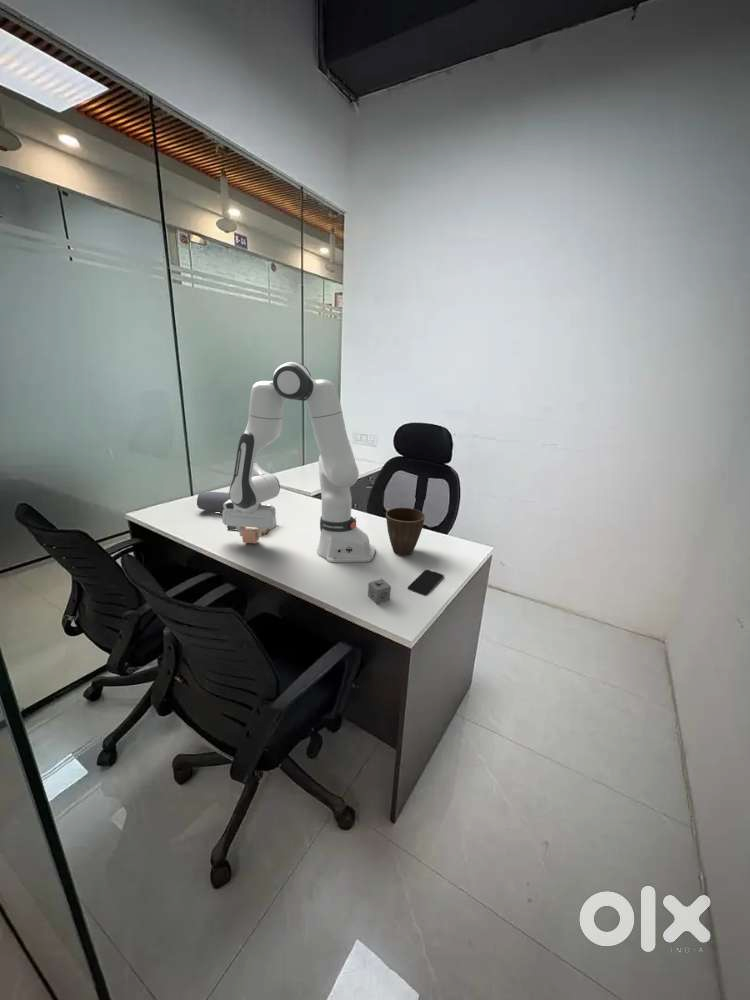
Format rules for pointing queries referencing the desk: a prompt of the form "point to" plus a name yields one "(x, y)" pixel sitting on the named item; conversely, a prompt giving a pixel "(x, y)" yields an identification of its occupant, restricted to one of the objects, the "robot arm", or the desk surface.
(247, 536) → the orange cube
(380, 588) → the dice cube
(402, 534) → the plant pot
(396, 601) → the desk surface
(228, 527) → the tray
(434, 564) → the desk surface
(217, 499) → the bluetooth speaker
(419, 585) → the smartphone
